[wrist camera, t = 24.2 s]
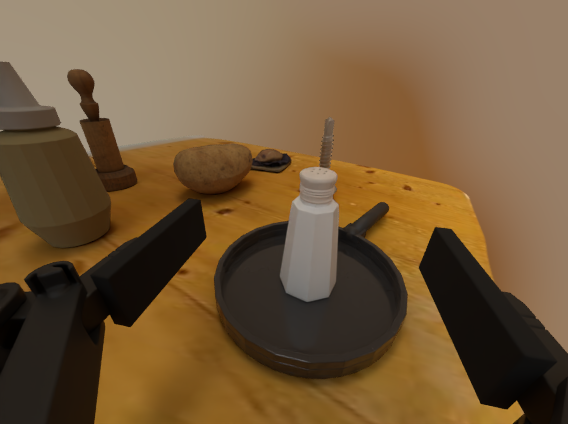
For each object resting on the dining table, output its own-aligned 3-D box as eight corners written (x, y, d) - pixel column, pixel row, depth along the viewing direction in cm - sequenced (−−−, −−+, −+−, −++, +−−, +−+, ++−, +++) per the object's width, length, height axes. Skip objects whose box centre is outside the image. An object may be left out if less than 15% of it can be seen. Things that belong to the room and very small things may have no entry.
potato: (267, 187, 43) (266, 143, 39) (195, 212, 35) (186, 159, 31) (236, 173, 49) (233, 134, 45) (169, 191, 40) (158, 145, 37)
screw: (332, 207, 37) (303, 201, 38) (337, 195, 41) (310, 190, 42) (344, 120, 31) (309, 117, 32) (349, 116, 35) (317, 114, 36)
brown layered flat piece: (280, 174, 50) (281, 157, 48) (245, 169, 52) (244, 153, 50) (294, 160, 59) (295, 146, 57) (263, 157, 61) (263, 142, 59)
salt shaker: (347, 284, 22) (371, 174, 17) (306, 314, 19) (320, 192, 14) (307, 254, 26) (317, 157, 21) (268, 276, 23) (267, 168, 18)
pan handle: (356, 246, 27) (358, 233, 26) (339, 238, 28) (341, 226, 27) (390, 214, 34) (393, 203, 33) (376, 209, 35) (378, 198, 35)
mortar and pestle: (101, 194, 39) (51, 67, 30) (89, 184, 42) (42, 68, 34) (143, 184, 43) (110, 70, 34) (129, 175, 47) (97, 70, 38)
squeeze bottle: (110, 212, 34) (54, 66, 25) (129, 234, 29) (67, 64, 20) (33, 234, 29) (-71, 59, 20) (40, 266, 24) (-93, 54, 15)
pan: (336, 453, 12) (342, 438, 11) (181, 284, 22) (177, 268, 21) (424, 281, 23) (431, 266, 23) (295, 219, 33) (296, 207, 32)
